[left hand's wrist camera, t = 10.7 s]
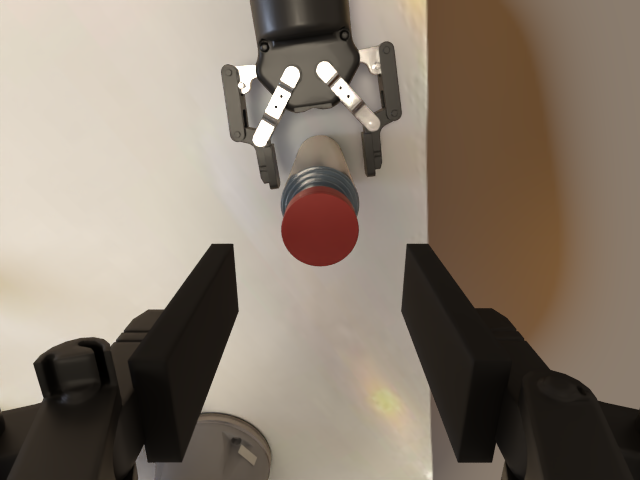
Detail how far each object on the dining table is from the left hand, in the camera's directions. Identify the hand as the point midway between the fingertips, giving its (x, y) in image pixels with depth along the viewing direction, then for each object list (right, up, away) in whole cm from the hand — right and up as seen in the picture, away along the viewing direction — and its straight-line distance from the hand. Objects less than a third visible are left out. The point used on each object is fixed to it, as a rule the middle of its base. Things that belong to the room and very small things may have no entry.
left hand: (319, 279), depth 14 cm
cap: (0, +2, +5) cm, 6 cm away
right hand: (0, +7, +21) cm, 22 cm away
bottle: (0, +10, +27) cm, 29 cm away
